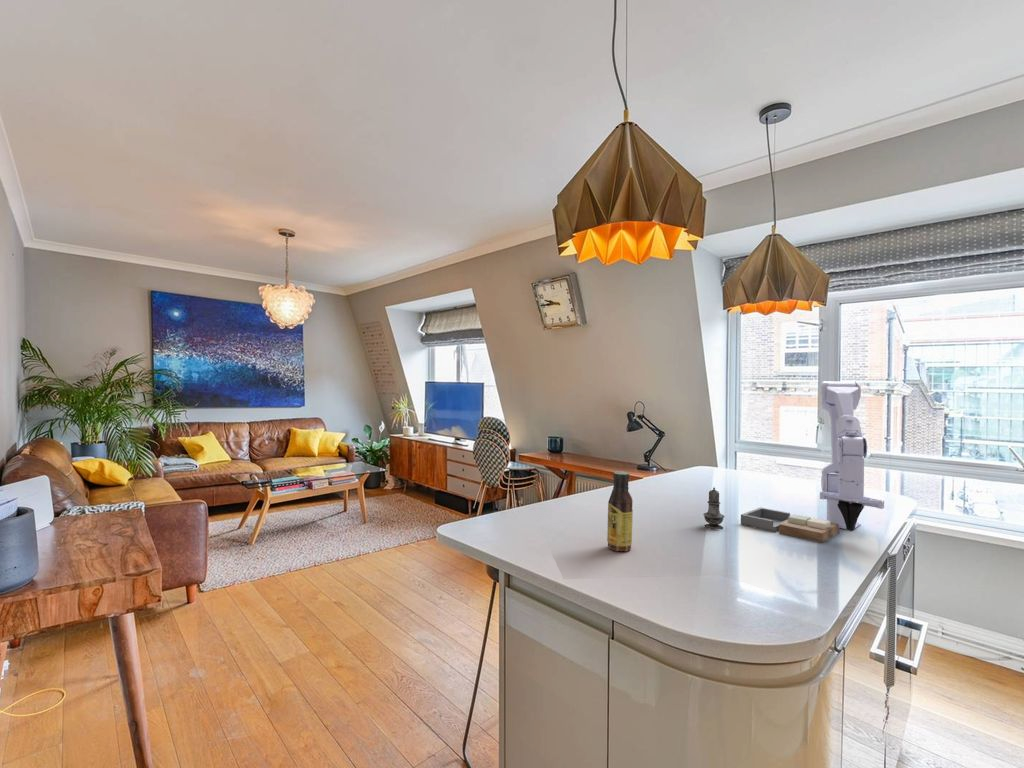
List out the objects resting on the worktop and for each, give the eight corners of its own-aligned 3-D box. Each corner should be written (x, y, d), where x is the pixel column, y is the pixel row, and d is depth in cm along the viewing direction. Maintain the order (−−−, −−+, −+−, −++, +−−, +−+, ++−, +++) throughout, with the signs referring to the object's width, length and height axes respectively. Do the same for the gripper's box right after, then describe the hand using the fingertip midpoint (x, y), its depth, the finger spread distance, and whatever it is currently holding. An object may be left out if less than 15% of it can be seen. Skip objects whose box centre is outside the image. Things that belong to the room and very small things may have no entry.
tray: (760, 516, 159) (760, 507, 159) (793, 523, 152) (793, 513, 152) (740, 524, 150) (740, 514, 150) (775, 532, 143) (775, 521, 143)
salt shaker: (726, 530, 144) (726, 489, 144) (705, 529, 145) (705, 488, 145) (722, 525, 150) (722, 485, 150) (701, 523, 151) (701, 484, 151)
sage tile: (794, 519, 147) (794, 514, 147) (810, 522, 144) (810, 517, 144) (788, 521, 144) (788, 516, 144) (805, 525, 141) (805, 520, 141)
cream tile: (812, 522, 144) (812, 517, 144) (830, 526, 140) (830, 521, 140) (807, 525, 141) (807, 520, 141) (825, 529, 137) (825, 524, 137)
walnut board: (797, 524, 151) (797, 516, 151) (838, 532, 143) (838, 523, 143) (779, 533, 142) (779, 524, 142) (822, 542, 134) (822, 533, 134)
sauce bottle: (604, 545, 130) (605, 469, 130) (627, 544, 130) (628, 469, 130) (611, 553, 123) (612, 474, 123) (635, 553, 124) (636, 474, 124)
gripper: (816, 477, 137) (815, 526, 138) (879, 486, 127) (879, 539, 127) (824, 475, 142) (824, 522, 142) (886, 483, 131) (886, 533, 131)
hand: (850, 529), depth 135 cm, fingers closed
